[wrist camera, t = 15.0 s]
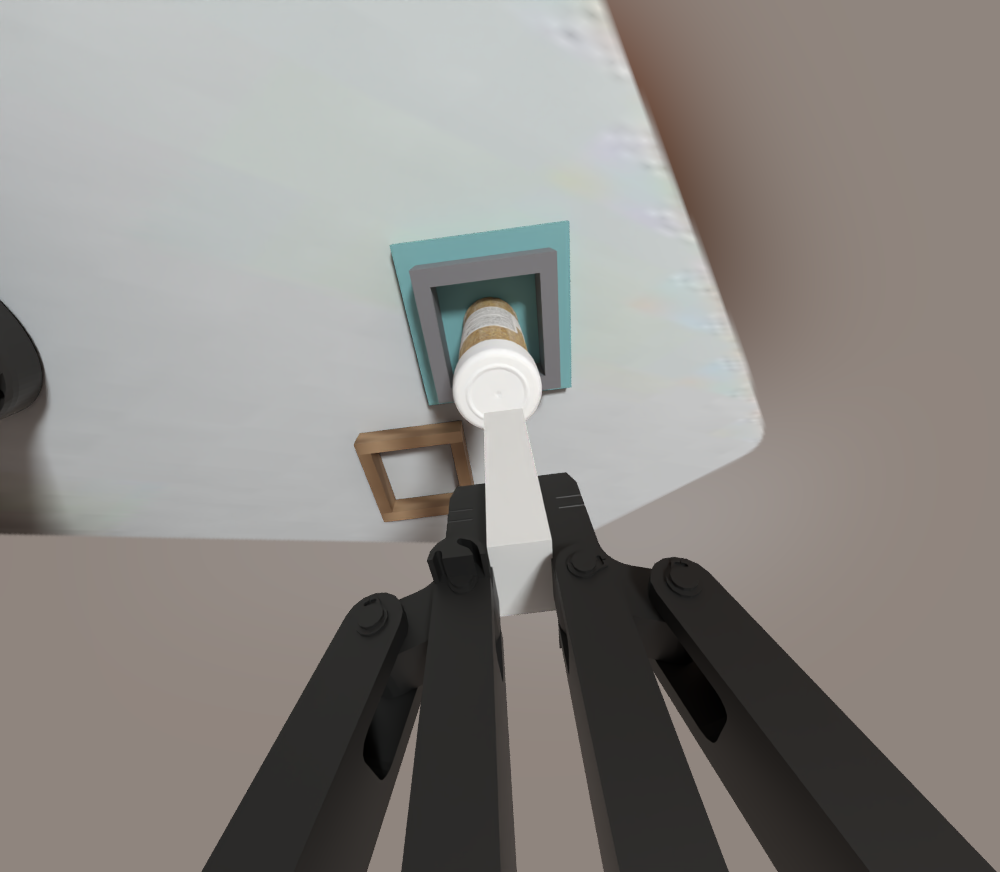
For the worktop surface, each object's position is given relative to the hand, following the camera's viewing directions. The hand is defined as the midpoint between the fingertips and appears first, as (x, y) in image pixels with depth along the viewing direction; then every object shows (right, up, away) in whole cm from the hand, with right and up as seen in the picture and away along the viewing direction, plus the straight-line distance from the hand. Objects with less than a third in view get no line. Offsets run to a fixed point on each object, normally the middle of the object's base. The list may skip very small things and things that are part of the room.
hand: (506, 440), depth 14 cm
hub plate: (-1, +10, +16) cm, 19 cm away
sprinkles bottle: (-1, +9, +15) cm, 18 cm away
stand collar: (-8, -3, +23) cm, 25 cm away
